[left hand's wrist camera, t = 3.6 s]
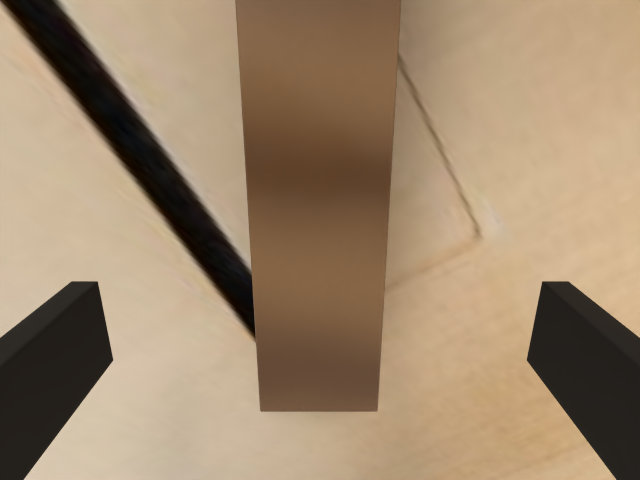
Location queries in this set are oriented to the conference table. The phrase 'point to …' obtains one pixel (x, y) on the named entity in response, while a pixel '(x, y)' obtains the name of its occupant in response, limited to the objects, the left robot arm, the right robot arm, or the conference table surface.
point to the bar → (318, 194)
